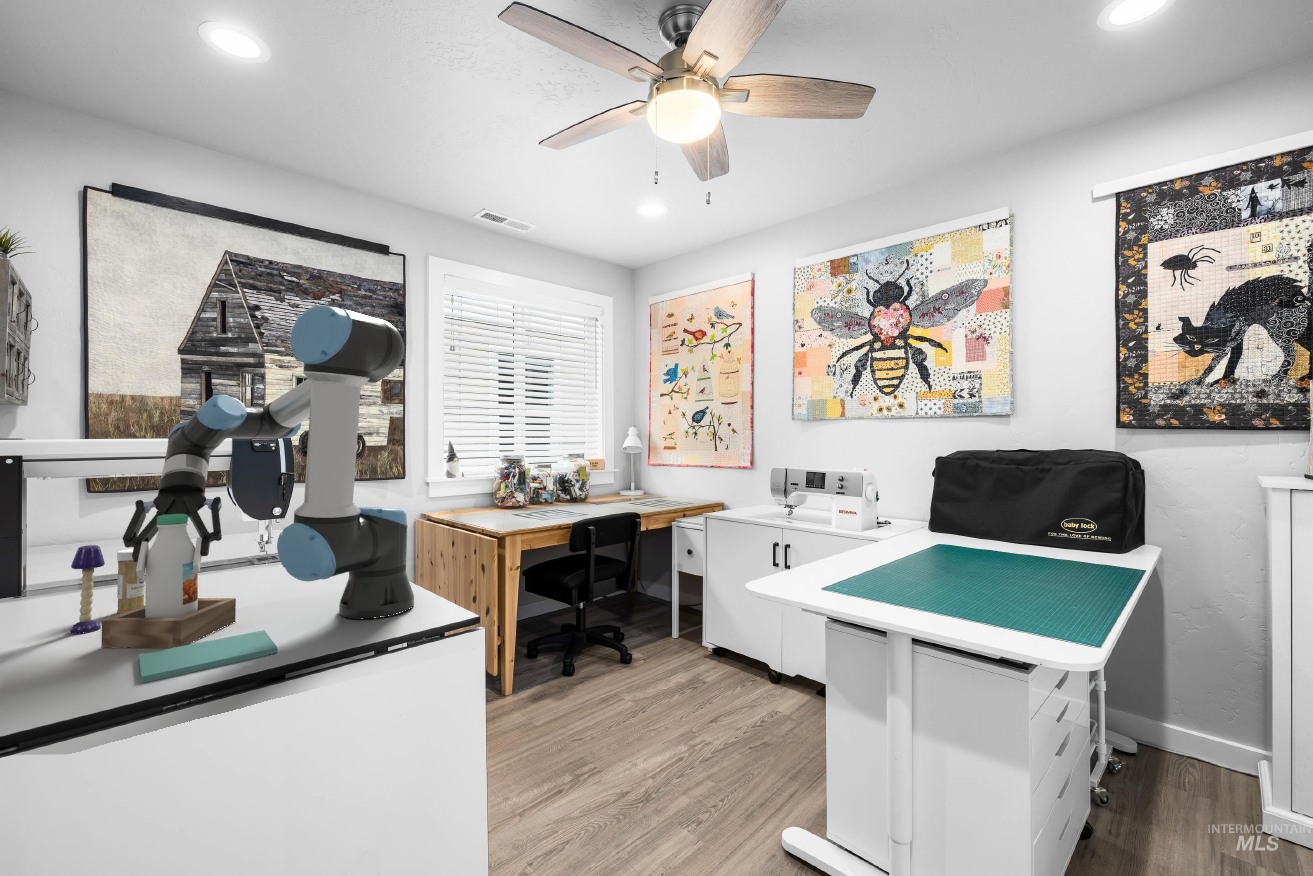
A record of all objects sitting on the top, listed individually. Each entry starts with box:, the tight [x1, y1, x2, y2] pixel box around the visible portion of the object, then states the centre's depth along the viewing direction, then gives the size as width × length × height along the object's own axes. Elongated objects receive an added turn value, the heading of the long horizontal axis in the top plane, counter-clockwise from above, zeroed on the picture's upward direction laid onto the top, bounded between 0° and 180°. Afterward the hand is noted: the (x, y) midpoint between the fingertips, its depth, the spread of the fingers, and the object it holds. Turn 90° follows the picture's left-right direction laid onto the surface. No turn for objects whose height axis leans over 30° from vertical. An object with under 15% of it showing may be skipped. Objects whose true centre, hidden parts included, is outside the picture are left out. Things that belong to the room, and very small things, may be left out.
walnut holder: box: [100, 597, 237, 649], centre depth 109 cm, size 14×14×5 cm
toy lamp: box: [69, 544, 105, 634], centre depth 110 cm, size 5×5×17 cm
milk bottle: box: [144, 514, 199, 618], centre depth 109 cm, size 8×8×20 cm
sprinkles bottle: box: [116, 548, 146, 615], centre depth 122 cm, size 5×5×13 cm
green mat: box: [138, 629, 279, 684], centre depth 98 cm, size 18×12×1 cm, turn 134°
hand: (168, 571), depth 106 cm, fingers closed on milk bottle, 7 cm apart
